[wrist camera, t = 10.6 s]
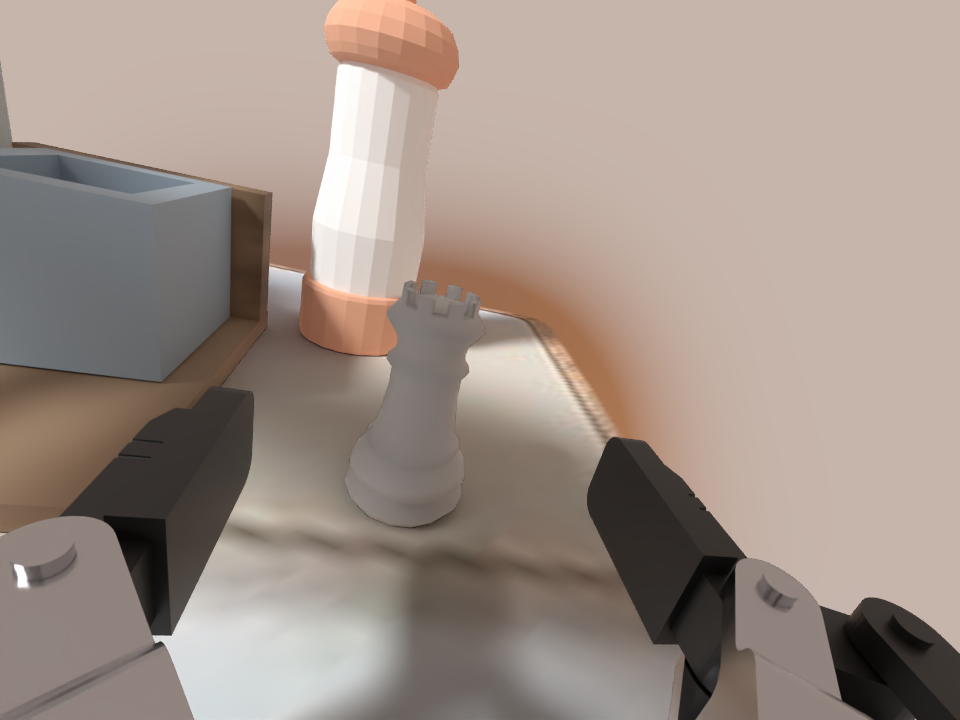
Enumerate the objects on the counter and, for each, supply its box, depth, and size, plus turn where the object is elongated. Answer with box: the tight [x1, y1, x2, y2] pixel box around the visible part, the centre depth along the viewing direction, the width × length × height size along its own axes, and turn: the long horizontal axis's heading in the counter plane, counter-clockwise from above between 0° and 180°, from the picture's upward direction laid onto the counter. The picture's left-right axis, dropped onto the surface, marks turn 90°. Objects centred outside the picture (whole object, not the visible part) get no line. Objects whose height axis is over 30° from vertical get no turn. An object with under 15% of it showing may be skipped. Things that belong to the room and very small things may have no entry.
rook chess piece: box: [344, 280, 486, 528], centre depth 16 cm, size 4×4×8 cm
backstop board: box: [0, 142, 272, 532], centre depth 18 cm, size 11×17×8 cm, turn 8°
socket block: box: [0, 148, 232, 382], centre depth 20 cm, size 8×8×7 cm
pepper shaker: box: [299, 0, 459, 356], centre depth 27 cm, size 7×7×19 cm
